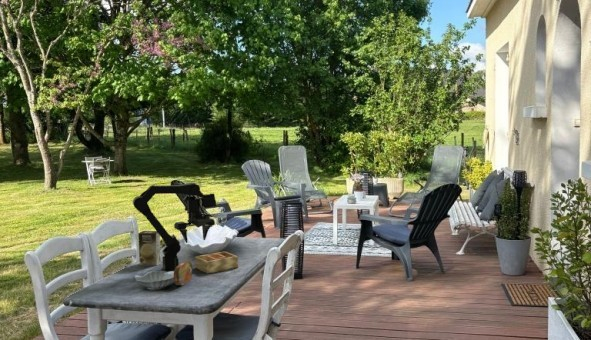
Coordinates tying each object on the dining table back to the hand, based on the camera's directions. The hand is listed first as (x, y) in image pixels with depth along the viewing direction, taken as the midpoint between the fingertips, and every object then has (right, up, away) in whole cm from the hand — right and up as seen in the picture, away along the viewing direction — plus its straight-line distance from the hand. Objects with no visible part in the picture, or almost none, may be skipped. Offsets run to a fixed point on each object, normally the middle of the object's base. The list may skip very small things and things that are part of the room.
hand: (195, 241), depth 265 cm
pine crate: (+11, -12, -3) cm, 16 cm away
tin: (0, -15, -26) cm, 30 cm away
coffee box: (-24, -12, +8) cm, 28 cm away
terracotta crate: (+11, -11, -3) cm, 16 cm away
